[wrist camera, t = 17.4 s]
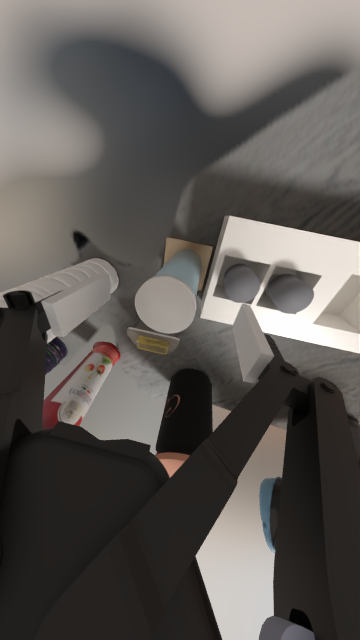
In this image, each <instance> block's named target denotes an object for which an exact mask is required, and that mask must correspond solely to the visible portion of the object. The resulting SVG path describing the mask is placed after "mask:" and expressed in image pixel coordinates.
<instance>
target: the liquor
mask: <svg viewBox="0 0 360 640" xmlns="http://www.w3.org/2000/svg"><path fill="white" fill-rule="evenodd" d="M119 359H120V352H119V351H118V349H117V347H116V346H115V345H113V344H112V343H108V342H97V343H95V345H94V346H93V350H92V351H91V352H90V353H89V354H88V355H87V356H86V357H85V358H84V359H83V361H82V362H81V363H80V364H79V365H78V366H77V367H76V368H75V369H74V370H73V371H72V372H71V373H70V374H69V375H68V376H67V377H66V378H65V379H64V380H63V381H62V382H61V383H60V384H59V385H58V386H57V387H56V388H55V389H54V390H53V391H52V393H51V394H50V395H49V396H48V397H47V398H46V399H45V400H44V401H43V415H42V425H43V429H44V430H45V429H50V428H54V427H55V425H56V424H57V423H58V421H61V422H65V423H69V424H72V425H76V426H79V425H80V423H81V421H82V420H83V418H84V416H85V415H86V413H87V411H88V409H89V407H90V406H91V404H92V402H93V400H94V398H95V397H96V394H97V393H98V391H99V389H100V387H101V386H102V384H103V382H104V381H105V379H106V377H107V375H108V374H109V372H110V370H111V369H112V367H113V365H114V364H115V362H117V361H118V360H119Z"/></svg>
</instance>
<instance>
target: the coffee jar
mask: <svg viewBox="0 0 360 640" xmlns="http://www.w3.org/2000/svg"><path fill="white" fill-rule="evenodd" d="M212 433H213V430H212V384H211V382H210V380H209V379H208V378H207V376H206V375H205V374H203V373H202V372H200V371H197V370H193V369H185V370H181V371H179V372H177V373H176V374H175V375H174V376H173V377H172V378H171V382H170V386H169V391H168V395H167V400H166V404H165V408H164V413H163V417H162V421H161V426H160V430H159V434H158V439H157V443H156V451H157V454H156V455H155V456H156V457H157V458H158V459H159V460H160V461H161V463H162V464H163V465H164V467H165V469H166V470H167V472H168V474H169V477H171V476H172V475H173V474H174V473H175V472H176V471H177V470H178V468H179V467H180V466H181V465H182V464H183V463H184V462H185V461H186V460H187V459H188V457H189V456H190V455H191V454H192V453H193V452H194V451H195V450H196V449H197V448H198V446H199V445H200V444H201V443H202V442H203V441H204V440H206V439H207V438H208V437H209V436H210V435H211V434H212Z"/></svg>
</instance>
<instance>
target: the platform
mask: <svg viewBox="0 0 360 640" xmlns="http://www.w3.org/2000/svg"><path fill="white" fill-rule="evenodd" d="M127 335H128V336H129V338H130V339H131V340H132V341H133V342H134V343H135V345H136V346H137V347H141V348H139V349H142V348H147V349H152V350H157V351H161V352H156V351H152V352H156V353H160V354H165V355H166V353H171V352H172V351H173V350H174V349H176V348H177V347H178V345H179V338H177V337H175V335H176V333H172V334H167V333H161V332H158V331H155V330H153V329H151V328H150V327H148V326H147V325H146V324H145V323H144V322H143V321H142V320H141V321H140V322H139V324H138V325H137V327H136V328H132V327H128V329H127ZM147 339H148V340H152V341H147ZM156 340H158V341H156ZM148 342H150V343H148ZM154 342H159V343H163V342H167V343H168V344H166V343H163V344H157V343H154ZM163 345H167V347H166V346H163ZM143 350H146V349H143ZM147 351H151V350H147ZM162 352H165V353H162Z"/></svg>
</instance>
